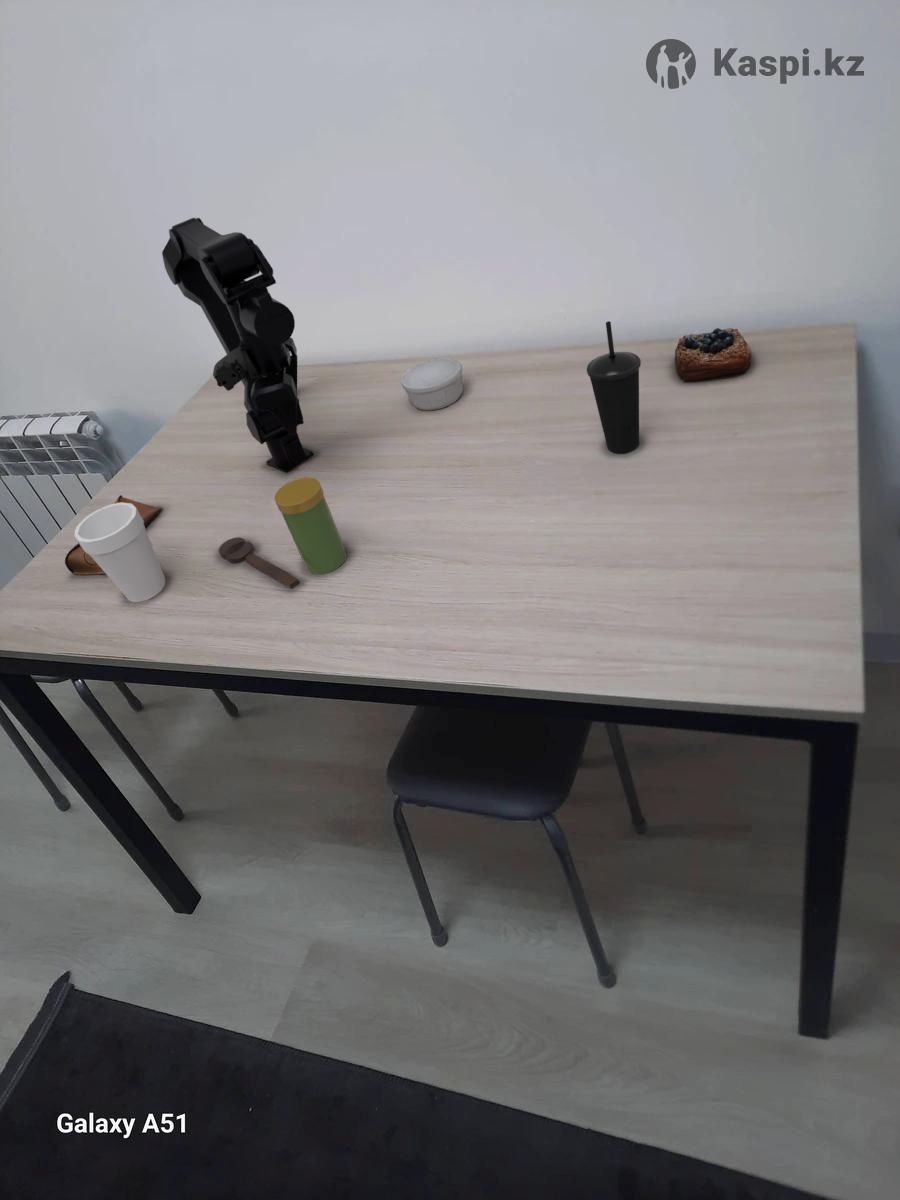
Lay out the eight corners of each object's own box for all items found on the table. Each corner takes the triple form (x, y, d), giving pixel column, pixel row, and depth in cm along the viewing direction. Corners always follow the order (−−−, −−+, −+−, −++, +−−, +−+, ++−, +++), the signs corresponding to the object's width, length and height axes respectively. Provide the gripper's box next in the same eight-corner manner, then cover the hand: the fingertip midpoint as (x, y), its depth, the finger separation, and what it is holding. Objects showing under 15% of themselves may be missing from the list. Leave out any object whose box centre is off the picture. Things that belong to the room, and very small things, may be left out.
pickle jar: (296, 565, 128) (265, 497, 120) (329, 540, 131) (301, 472, 123) (322, 580, 123) (292, 510, 115) (356, 554, 126) (329, 484, 118)
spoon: (215, 553, 135) (213, 549, 135) (237, 538, 137) (235, 534, 137) (283, 594, 123) (281, 590, 122) (307, 577, 125) (305, 572, 124)
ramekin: (396, 411, 157) (388, 386, 154) (428, 381, 163) (421, 355, 160) (447, 416, 151) (440, 390, 148) (478, 384, 157) (472, 358, 154)
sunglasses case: (111, 572, 138) (76, 545, 135) (92, 589, 142) (58, 563, 139) (164, 505, 150) (133, 479, 148) (145, 522, 154) (115, 497, 152)
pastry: (672, 356, 148) (669, 324, 145) (744, 343, 146) (744, 311, 142) (678, 387, 140) (676, 354, 136) (755, 374, 138) (755, 340, 134)
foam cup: (109, 591, 134) (66, 526, 126) (161, 561, 138) (123, 495, 129) (129, 617, 128) (86, 550, 120) (183, 584, 131) (145, 516, 123)
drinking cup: (592, 459, 130) (574, 336, 118) (604, 431, 135) (588, 311, 123) (642, 459, 127) (629, 334, 114) (653, 431, 132) (641, 308, 119)
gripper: (209, 318, 132) (248, 407, 142) (198, 368, 118) (241, 463, 128) (278, 298, 132) (312, 389, 142) (275, 346, 118) (313, 443, 127)
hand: (293, 419), depth 135 cm, fingers open, 9 cm apart
